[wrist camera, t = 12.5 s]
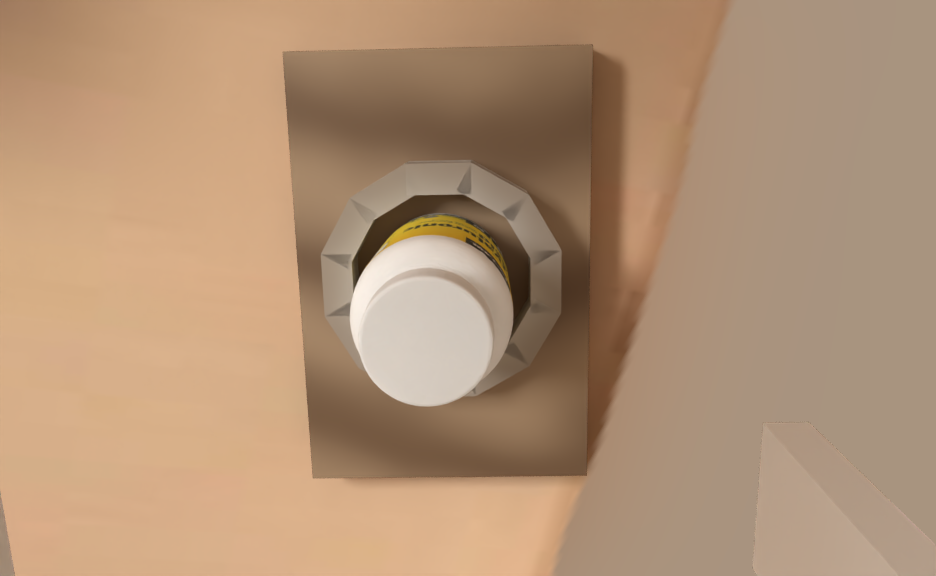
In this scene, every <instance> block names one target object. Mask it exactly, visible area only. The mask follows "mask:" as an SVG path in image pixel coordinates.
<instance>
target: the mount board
mask: <svg viewBox="0 0 936 576" xmlns="http://www.w3.org/2000/svg"><path fill="white" fill-rule="evenodd" d="M283 64H284V78H285V92H286V106H287V121H288V135H289V149H290V163H291V177H292V191H293V205H294V219H295V234H296V248H297V262H298V276H299V290H300V304H301V318H302V332H303V347H304V361H305V375H306V389H307V403H308V417H309V431H310V446H311V460H312V474H313V478H397V477H492V476H587V417H588V348H589V278H590V209H591V140H592V70H593V45H549V46H506V47H462V48H419V49H376V50H332V51H289V52H283ZM434 213H446V214H454V215H457V216H461V217H464V218H466V219H468V220H471V221H473V222H474V223H476V224H477V225H479V226H480V227H482V228H483V229H484V230H485V231H486V232H487V233H488V234H489V235H490V236H491V237H492V238H493V239H494V241H495V242H496V244H497V245H498V247H499V249H500V251H501V253H502V255H503V258H504V260H505V263H506V267H507V272H508V278H509V284H510V290H511V295H512V301H513V326H512V332H511V336H510V339H509V342H508V345H507V348H506V350H505V352H504V354H503V356H502V358H501V360H500V361H499V363H498V364H497V365H496V367H495V368H494V369H493V370H492V371H491V372H490V373H489V374H488V375H487V376H486V377H485V378H484V379H483V380H481V381H480V382H479V383H478V385H477V386H476V387H475V388H474V389H472V390H471V391H470V392H469V393H468V394H466V395H465V396H463V397H461V398H460V399H458V400H455V401H453V402H450V403H448V404H444V405H439V406H430V407H427V406H414V405H410V404H406V403H403V402H401V401H398V400H396V399H394V398H392V397H391V396H389V395H388V394H386V393H385V392H384V391H382V390H381V389H380V388H379V387H378V386H377V385H376V384H375V383H374V382H373V381H372V379H371V378H370V377H369V375H368V373H367V372H366V370H365V368H364V365H363V363H362V360H361V357H360V354H359V352H358V350H357V348H356V345H355V343H354V340H353V336H352V332H351V326H350V307H351V301H352V297H353V293H354V290H355V287H356V285H357V282H358V280H359V278H360V276H361V274H362V272H363V271H364V269H365V268H366V266H367V265H368V264H369V262H370V261H371V260H372V258H373V257H374V256H375V255H376V253H377V252H378V251H379V249H380V248H381V247H382V245H383V244H384V243H385V242H386V240H387V239H388V238H389V237H390V236H391V235H392V234H393V233H394V232H395V231H396V230H397V229H398V228H399V227H401V226H402V225H404V224H405V223H407V222H409V221H410V220H412V219H415V218H417V217H420V216H423V215H428V214H434Z"/></svg>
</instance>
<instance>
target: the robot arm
mask: <svg viewBox="0 0 936 576" xmlns="http://www.w3.org/2000/svg"><path fill="white" fill-rule="evenodd" d="M752 568H753V570H754V572H755V574H756V575H757V576H936V545H935V544H934V543H933V542H932V541H931V540H930V539H929V538H928V537H927V536H926V535H925V534H924V533H923V532H922V531H921V530H920V529H919V528H918V527H917V526H916V525H915V524H914V523H913V522H912V521H911V520H910V519H909V518H907V517H906V516H905V515H904V514H903V513H902V512H901V511H900V510H899V509H898V508H897V507H896V506H895V505H894V504H893V503H892V502H891V501H890V500H889V499H888V498H887V497H886V496H885V495H884V494H883V493H882V492H881V491H879V489H878V488H876V487H875V486H874V485H873V484H872V483H871V482H870V481H869V480H868V479H867V478H866V477H865V476H864V475H863V474H862V473H861V472H860V471H859V470H858V469H857V468H856V467H855V466H854V465H853V464H852V463H851V462H850V461H849V460H848V459H847V458H845V457H844V456H843V455H842V454H841V453H840V452H839V451H838V450H837V449H836V448H835V447H834V446H833V445H832V444H831V443H830V442H829V441H828V440H827V439H826V438H825V437H824V436H823V435H822V434H821V433H820V432H819V431H817V429H815V428H814V427H813V426H812V425H811V424H810V423H809V422H770V423H763V428H762V441H761V456H760V469H759V483H758V498H757V512H756V524H755V538H754V552H753V566H752ZM0 576H15V573H14V567H13V561H12V556H11V550H10V544H9V539H8V533H7V527H6V522H5V516H4V510H3V505H2V499H1V493H0Z"/></svg>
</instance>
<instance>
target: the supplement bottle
mask: <svg viewBox="0 0 936 576" xmlns="http://www.w3.org/2000/svg"><path fill="white" fill-rule="evenodd" d="M350 326H351V332H352V336H353V340H354V343H355V345H356V348H357V350H358V352H359V354H360V357H361V360H362V363H363V365H364V368H365V370H366V372H367V373H368V375H369V377H370V378H371V379H372V381H373V382H374V383H375V384H376V385H377V386H378V387H379V388H380V389H381V390H382V391H384V392H385V393H386V394H388V395H389V396H391V397H392V398H394V399H396V400H398V401H401V402H403V403H406V404H410V405H414V406H427V407H430V406H439V405H444V404H448V403H450V402H453V401H455V400H458V399H460V398H461V397H463V396H465V395H466V394H468V393H469V392H470V391H471V390H472V389H474V388H475V387H476V386H477V385H478V383H479V382H480V381H481V380H483V379H484V378H485V377H486V376H487V375H488V374H489V373H490V372H491V371H492V370H493V369H494V368H495V367H496V365H497V364H498V363H499V361H500V360H501V358H502V356H503V354H504V352H505V350H506V348H507V345H508V342H509V339H510V336H511V332H512V326H513V301H512V295H511V290H510V284H509V278H508V272H507V267H506V263H505V260H504V258H503V255H502V253H501V251H500V249H499V247H498V245H497V244H496V242H495V241H494V239H493V238H492V237H491V236H490V235H489V234H488V233H487V232H486V231H485V230H484V229H483V228H482V227H480V226H479V225H477V224H476V223H474V222H473V221H471V220H468V219H466V218H464V217H461V216H457V215H454V214H446V213H434V214H428V215H423V216H420V217H417V218H415V219H412V220H410V221H409V222H407V223H405V224H404V225H402V226H401V227H399V228H398V229H397V230H396V231H395V232H394V233H393V234H392V235H391V236H390V237H389V238H388V239H387V240H386V242H385V243H384V244H383V245H382V247H381V248H380V249H379V251H378V252H377V253H376V255H375V256H374V257H373V258H372V260H371V261H370V262H369V264H368V265H367V266H366V268H365V269H364V271H363V272H362V274H361V276H360V278H359V280H358V282H357V285H356V287H355V290H354V293H353V297H352V301H351V307H350Z"/></svg>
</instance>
